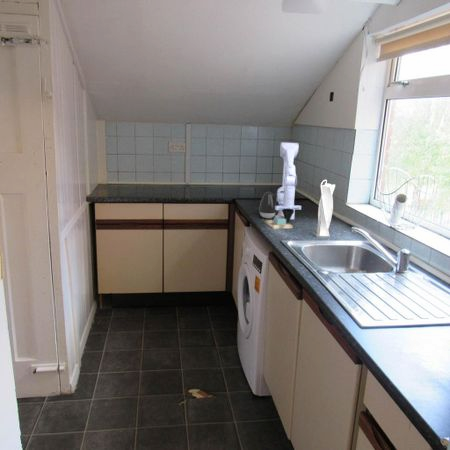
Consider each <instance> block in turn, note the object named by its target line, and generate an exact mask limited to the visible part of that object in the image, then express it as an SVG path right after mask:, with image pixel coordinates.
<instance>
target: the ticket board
mask: <svg viewBox="0 0 450 450" xmlns="http://www.w3.org/2000/svg"><path fill="white" fill-rule="evenodd" d="M274 217H283V218H284V215H278V214H275V216H274ZM264 224H266V225H267V226H268V227H270V228H272V229H273V230H274V229H275V230H276V229H279V230H280V229H293V224H291V223H290V222H289V223H286V225H277V224H275V223H274V219H267V220H264Z"/></svg>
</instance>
